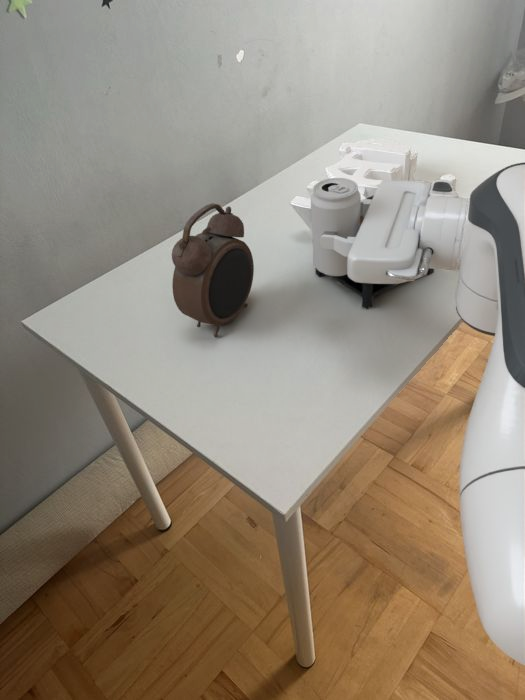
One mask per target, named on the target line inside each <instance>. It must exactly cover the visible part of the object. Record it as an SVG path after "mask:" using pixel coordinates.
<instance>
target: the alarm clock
mask: <svg viewBox="0 0 525 700" xmlns="http://www.w3.org/2000/svg"><path fill="white" fill-rule="evenodd" d="M214 209H215V210H216V211H217V213H215V214H213V215H212V216H211V217H210V219H209V221H208V222H207V225H206V227H205V229H203V230H202V232H200V233H197V234H196V235H191V230H192V228H193V226H194V225H195V224H196V222H197V221H198V220H199V219H200V218H201V217H203V216H204V215H205V214H206V213H208V212H210V211H211V210H214ZM244 225H245V224H244V222H243V220H241V218H240V217H239V216H237V215H235V214H234V213H233V212H232V207H231V206H229V205H228V206H227V207H225V210H224V209H223V207H222V206H221V205H220V204H218V203H215V202H214V203H213V202H212V203H209V204H206V205H204V206H202V207H201V208H199V210H198V211H196V212H195V213H194V214H193V215H192V216H190V218H189V219H188V220H187V221H186V223H185V225H184V227H183V232H182V237H181V238H180V239H179V240H178V241H176V243H175V244H174V245H173V247H172V250H171V261H172V264H173V265H174V269H173V275H172V296H173V300H174V303H175V305H176V307H177V309H178V310H179V311H180V312H181V314H183V315H184V316H187V317H188V318H191V319H192V320H194V321H197V324H196V326H197V328H200V327H201V323H203V324H207V325H212V326H214V334H213V337H214V338H217V337H219V331H220V327H221V326H226V325H227V324H229V323H231V322H232V321H234V320H235V319H236V317H237V316H238V315H239V314H240V313H241V311H242V310H243V308H248V307H249V303H246V302H247V300H248V298H249V296H250V293H251V290H252V286H253V281H254V273H255V272H254V271H255V265H254V257H253V254H252V250H251V249H250V247H249V245H248V244H247V243H246V242H245V241H243V240H241V239H239V238H245V226H244Z"/></svg>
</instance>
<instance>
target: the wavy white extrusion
mask: <svg viewBox="0 0 525 700" xmlns="http://www.w3.org/2000/svg"><path fill="white" fill-rule="evenodd" d="M338 149H339V156H340V160H338V161H337V163H335V164H332V165H328V166H326V167H324V170H325V173H326V176H327V179H330V178H346V179H350V180H352V181H354V182H356V183H357V185H358V191H359V192H360V195H361V200H363V199H366V198H369V197H371V196H373V195H374V194H375V192H376V190H377V188H378V185H379V184H381V183H383V182H387V181H394V180H406V181H415V174H416V169H417V168H416V167H417V162H418V158H419V157H418V156H419V152H417V151H416V149H414V148H412V147H411V146H408V145H406V144H404V143H401V142H397V141H393V140H389V139H382V138H370V139H368V138H367V139H364V140H359V141H358V142H357V141H356V142H352V141H343V142H342V144H341V145H340V146H339V148H338ZM320 181H321V180H313V181H311V182H310V183H309V184H307V186H306V190H307V191H308V194H309V195H310V196H311V195H312V194H313V187H314V186H315V185H316V184H317V183H318V182H320ZM289 205H290V206H291V207H292V209H293V210H294V211H295V213H296V214H297V215H298V216H299V218H300V219H301V220H302V221H303V222H304V224H305V225H306V226H307V227H308V229H309V230H310V231H311V232H312V219H311V198H308V197H305V196H304V197H303V196H300V195H297V196H295V197H294V198H293V199H292V200H291V201H290V202H289Z"/></svg>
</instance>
